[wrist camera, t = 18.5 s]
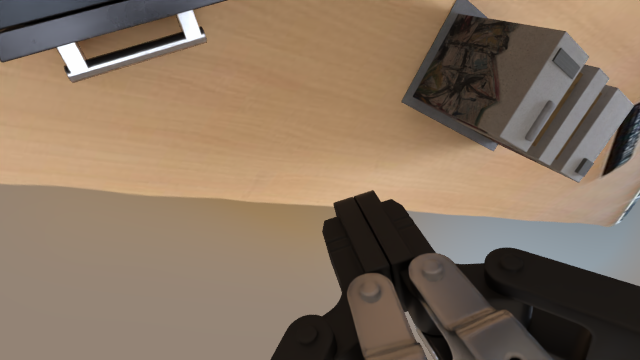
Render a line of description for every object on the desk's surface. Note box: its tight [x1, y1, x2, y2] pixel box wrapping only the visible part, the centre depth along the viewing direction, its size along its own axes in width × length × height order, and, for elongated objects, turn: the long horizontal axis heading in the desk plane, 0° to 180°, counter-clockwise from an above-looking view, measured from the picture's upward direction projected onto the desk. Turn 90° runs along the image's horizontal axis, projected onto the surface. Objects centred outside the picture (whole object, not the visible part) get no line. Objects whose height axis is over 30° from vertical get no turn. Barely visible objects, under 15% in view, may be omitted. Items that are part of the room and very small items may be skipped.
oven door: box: [0, 0, 227, 83], centre depth 31 cm, size 5×15×13 cm, turn 102°
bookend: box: [402, 0, 634, 183], centre depth 54 cm, size 16×25×16 cm, turn 61°
